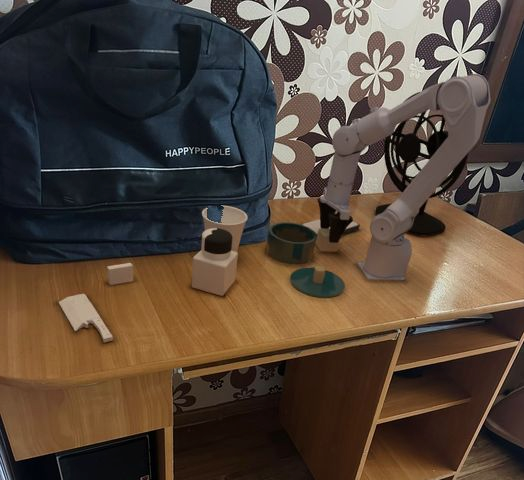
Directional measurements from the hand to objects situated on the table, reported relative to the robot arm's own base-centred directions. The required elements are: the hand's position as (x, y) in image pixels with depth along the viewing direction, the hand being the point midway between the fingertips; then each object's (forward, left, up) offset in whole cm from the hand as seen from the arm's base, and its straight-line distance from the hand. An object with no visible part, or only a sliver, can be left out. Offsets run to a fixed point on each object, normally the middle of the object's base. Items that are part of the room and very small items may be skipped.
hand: (328, 234), depth 125 cm
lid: (+7, +18, -3) cm, 19 cm away
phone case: (-5, -11, -4) cm, 13 cm away
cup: (+27, +7, -4) cm, 28 cm away
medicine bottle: (+30, +18, -4) cm, 35 cm away
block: (0, 0, -4) cm, 4 cm away
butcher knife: (+55, +31, -4) cm, 63 cm away
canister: (+10, +4, -4) cm, 12 cm away
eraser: (+49, +17, -4) cm, 52 cm away
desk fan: (-31, -18, -4) cm, 36 cm away
